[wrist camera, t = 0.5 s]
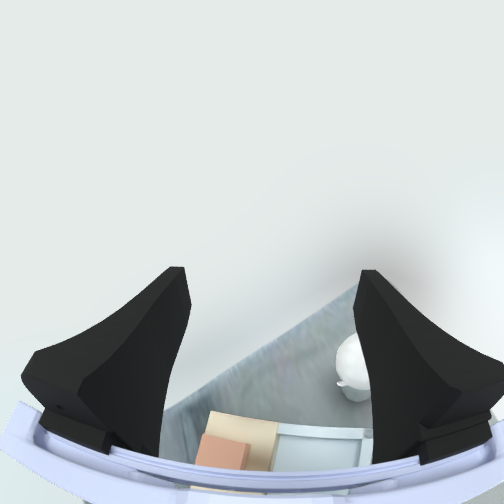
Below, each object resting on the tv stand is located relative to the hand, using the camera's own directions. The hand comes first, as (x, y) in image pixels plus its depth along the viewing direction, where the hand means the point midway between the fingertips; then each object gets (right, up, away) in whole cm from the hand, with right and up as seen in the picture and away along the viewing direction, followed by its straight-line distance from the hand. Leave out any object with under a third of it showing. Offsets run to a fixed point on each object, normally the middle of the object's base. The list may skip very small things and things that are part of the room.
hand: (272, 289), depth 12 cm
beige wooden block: (-2, -19, +10) cm, 21 cm away
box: (+5, -19, +8) cm, 21 cm away
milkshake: (+9, -12, +13) cm, 20 cm away
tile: (-3, -17, +9) cm, 19 cm away
